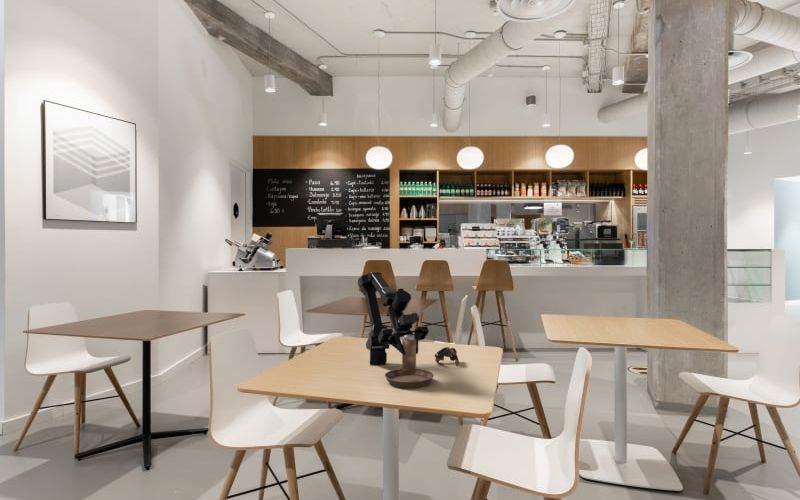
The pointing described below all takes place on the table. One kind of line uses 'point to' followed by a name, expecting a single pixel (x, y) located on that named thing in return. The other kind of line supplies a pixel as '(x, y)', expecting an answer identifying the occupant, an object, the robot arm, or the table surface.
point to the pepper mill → (409, 355)
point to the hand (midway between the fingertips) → (410, 353)
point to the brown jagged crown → (447, 355)
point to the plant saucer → (409, 378)
